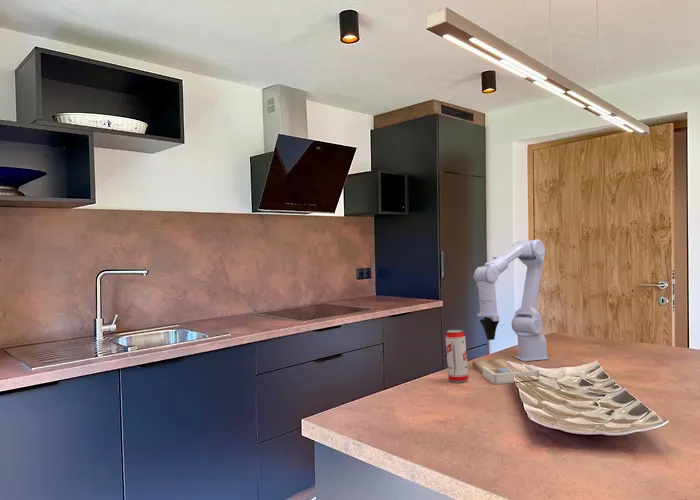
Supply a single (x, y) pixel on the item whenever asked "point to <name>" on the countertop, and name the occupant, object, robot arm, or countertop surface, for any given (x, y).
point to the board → (490, 364)
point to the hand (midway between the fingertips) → (490, 339)
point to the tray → (508, 375)
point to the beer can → (456, 356)
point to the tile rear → (499, 370)
